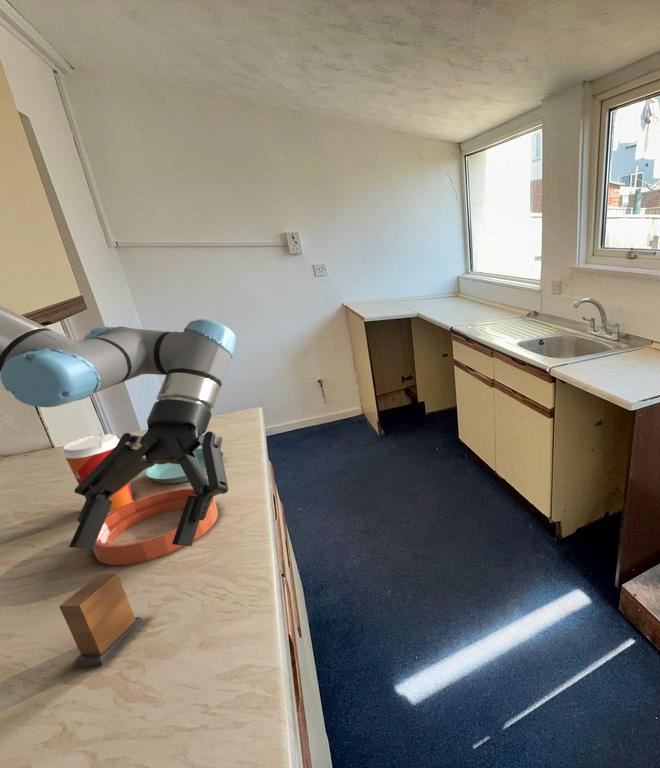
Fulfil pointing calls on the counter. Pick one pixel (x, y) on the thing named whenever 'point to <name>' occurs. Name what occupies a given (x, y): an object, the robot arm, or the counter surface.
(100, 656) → the eraser
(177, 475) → the saucer
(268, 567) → the counter surface
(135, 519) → the bowl
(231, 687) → the counter surface
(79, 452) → the coffee cup
